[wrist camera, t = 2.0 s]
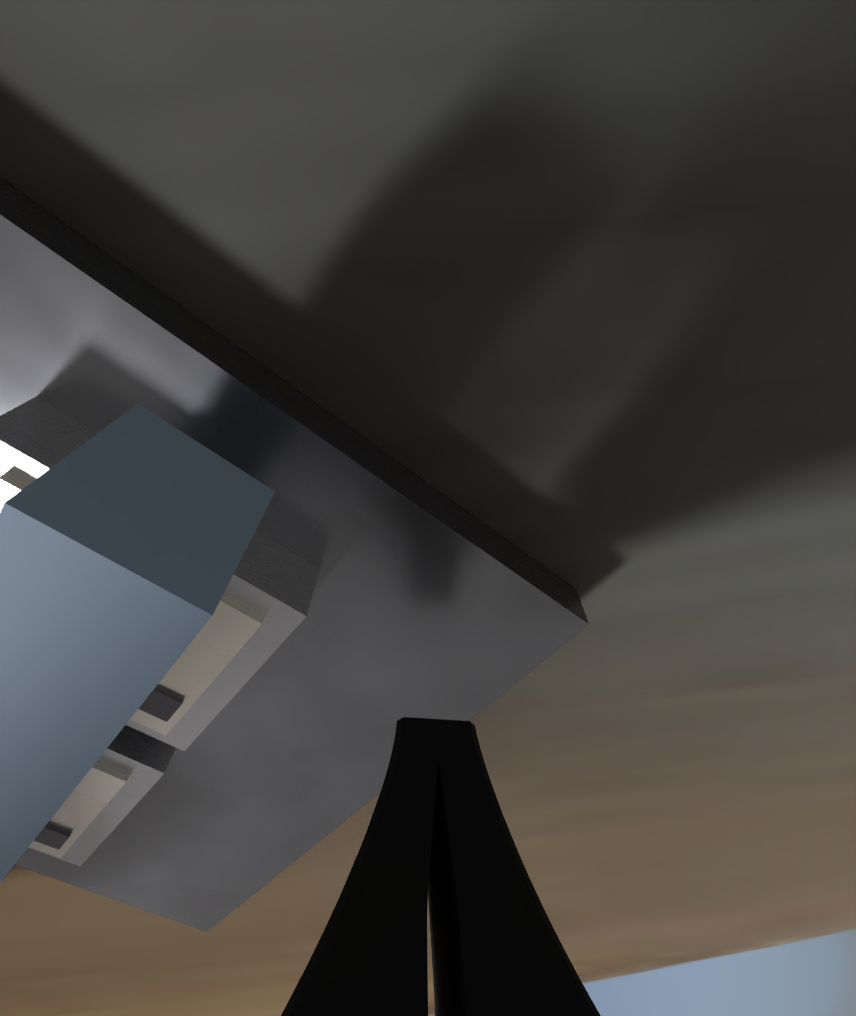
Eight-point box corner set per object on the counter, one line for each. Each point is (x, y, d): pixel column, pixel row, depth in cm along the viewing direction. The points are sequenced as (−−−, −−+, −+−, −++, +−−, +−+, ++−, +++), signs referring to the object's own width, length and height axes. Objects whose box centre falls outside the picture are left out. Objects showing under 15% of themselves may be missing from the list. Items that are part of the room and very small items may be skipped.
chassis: (218, 894, 21) (187, 996, 18) (-430, 651, 15) (-612, 751, 12) (576, 590, 14) (611, 686, 11) (-387, -100, 8) (-796, -240, 5)
